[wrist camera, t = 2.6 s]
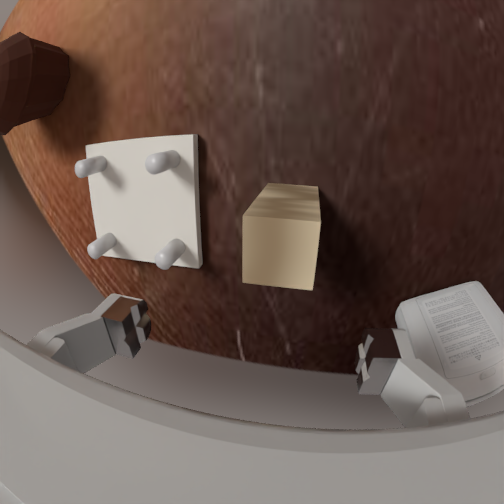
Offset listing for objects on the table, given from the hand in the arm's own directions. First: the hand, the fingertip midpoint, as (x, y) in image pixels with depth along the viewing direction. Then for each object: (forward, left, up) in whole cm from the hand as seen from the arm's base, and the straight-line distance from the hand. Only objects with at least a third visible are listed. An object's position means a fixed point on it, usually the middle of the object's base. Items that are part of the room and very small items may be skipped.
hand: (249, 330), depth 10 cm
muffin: (+28, -15, -15) cm, 35 cm away
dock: (+14, 0, -15) cm, 20 cm away
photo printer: (-16, +8, -15) cm, 24 cm away
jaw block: (0, 0, -15) cm, 15 cm away
